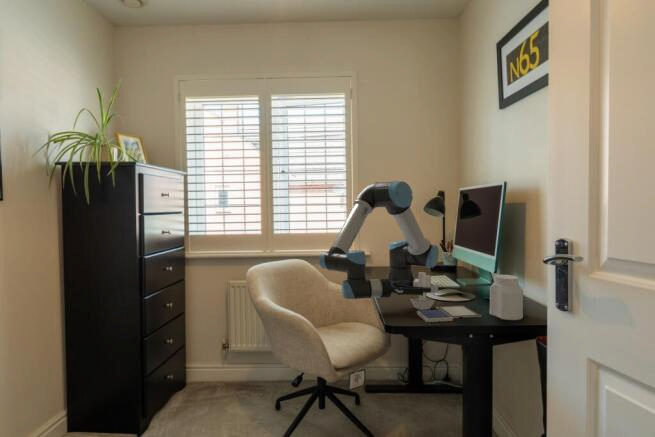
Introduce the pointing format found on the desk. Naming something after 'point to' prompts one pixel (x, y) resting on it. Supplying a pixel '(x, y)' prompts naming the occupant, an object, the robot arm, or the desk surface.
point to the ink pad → (434, 315)
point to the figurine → (423, 301)
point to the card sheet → (458, 311)
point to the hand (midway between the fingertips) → (432, 286)
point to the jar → (506, 298)
